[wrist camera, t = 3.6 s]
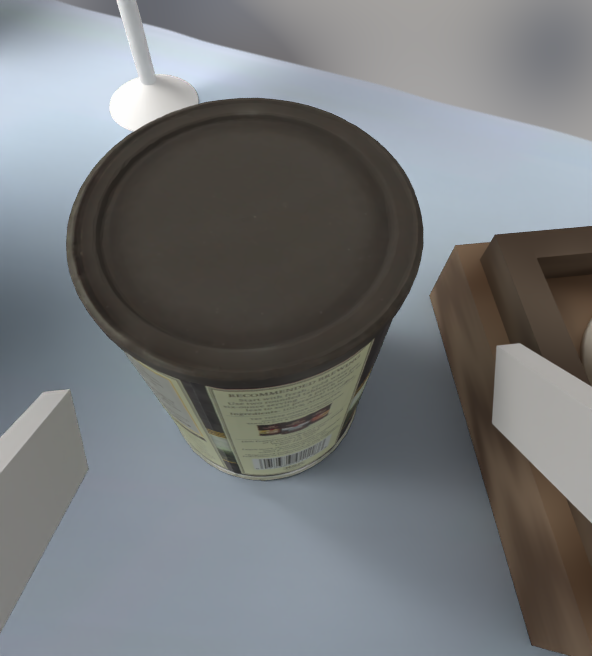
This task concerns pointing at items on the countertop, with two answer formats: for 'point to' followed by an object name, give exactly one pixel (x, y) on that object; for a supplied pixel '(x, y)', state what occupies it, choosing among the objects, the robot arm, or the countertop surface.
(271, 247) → the coffee can
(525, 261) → the display stand
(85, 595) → the countertop surface
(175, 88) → the champagne flute
